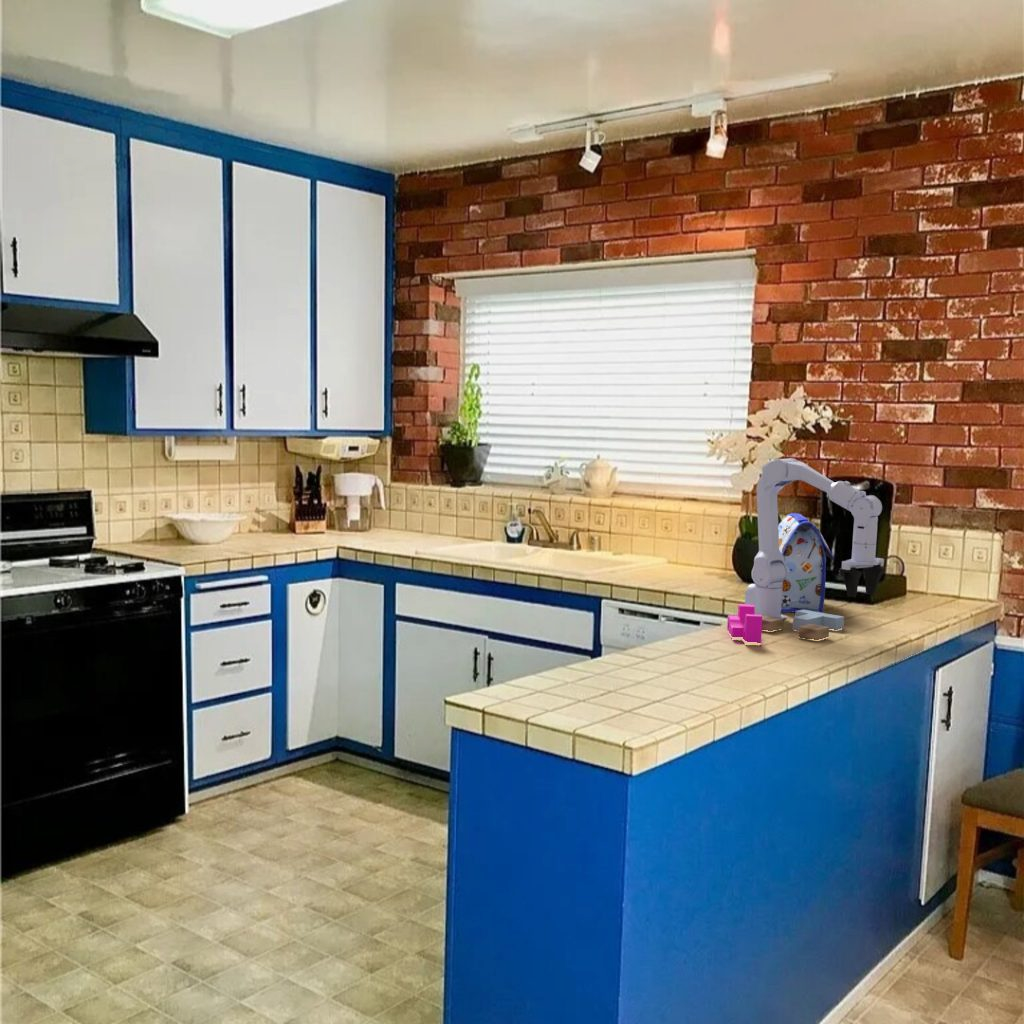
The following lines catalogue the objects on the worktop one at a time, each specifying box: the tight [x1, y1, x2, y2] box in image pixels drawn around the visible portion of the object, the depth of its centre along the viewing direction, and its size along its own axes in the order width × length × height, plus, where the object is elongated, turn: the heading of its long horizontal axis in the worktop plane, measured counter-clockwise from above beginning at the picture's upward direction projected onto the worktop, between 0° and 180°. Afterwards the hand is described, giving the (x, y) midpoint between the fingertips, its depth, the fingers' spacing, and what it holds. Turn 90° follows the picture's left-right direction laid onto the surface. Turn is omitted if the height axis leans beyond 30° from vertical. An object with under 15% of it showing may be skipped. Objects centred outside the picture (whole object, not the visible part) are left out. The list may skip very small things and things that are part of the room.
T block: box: [792, 609, 845, 632], centre depth 272 cm, size 12×12×4 cm
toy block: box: [726, 603, 763, 644], centre depth 258 cm, size 15×6×8 cm, turn 175°
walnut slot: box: [762, 615, 830, 640], centre depth 265 cm, size 18×6×3 cm, turn 45°
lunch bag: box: [778, 512, 835, 613], centre depth 302 cm, size 23×17×27 cm
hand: (860, 595), depth 266 cm, fingers open, 7 cm apart
